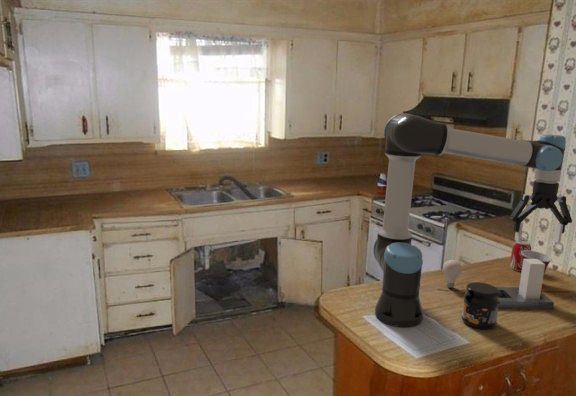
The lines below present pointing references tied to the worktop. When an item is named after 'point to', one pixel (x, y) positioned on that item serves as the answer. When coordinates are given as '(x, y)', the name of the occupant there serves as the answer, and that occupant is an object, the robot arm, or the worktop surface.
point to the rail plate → (522, 300)
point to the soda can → (518, 254)
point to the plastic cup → (536, 257)
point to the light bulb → (451, 272)
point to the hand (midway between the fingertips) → (537, 241)
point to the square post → (531, 278)
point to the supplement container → (480, 305)
